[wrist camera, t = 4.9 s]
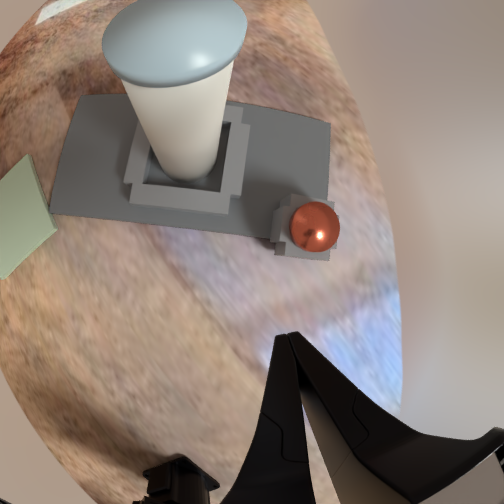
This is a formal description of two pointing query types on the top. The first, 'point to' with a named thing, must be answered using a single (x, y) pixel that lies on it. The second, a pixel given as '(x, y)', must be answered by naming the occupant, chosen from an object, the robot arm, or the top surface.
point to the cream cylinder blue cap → (177, 75)
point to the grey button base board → (201, 192)
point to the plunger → (314, 227)
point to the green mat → (22, 215)
